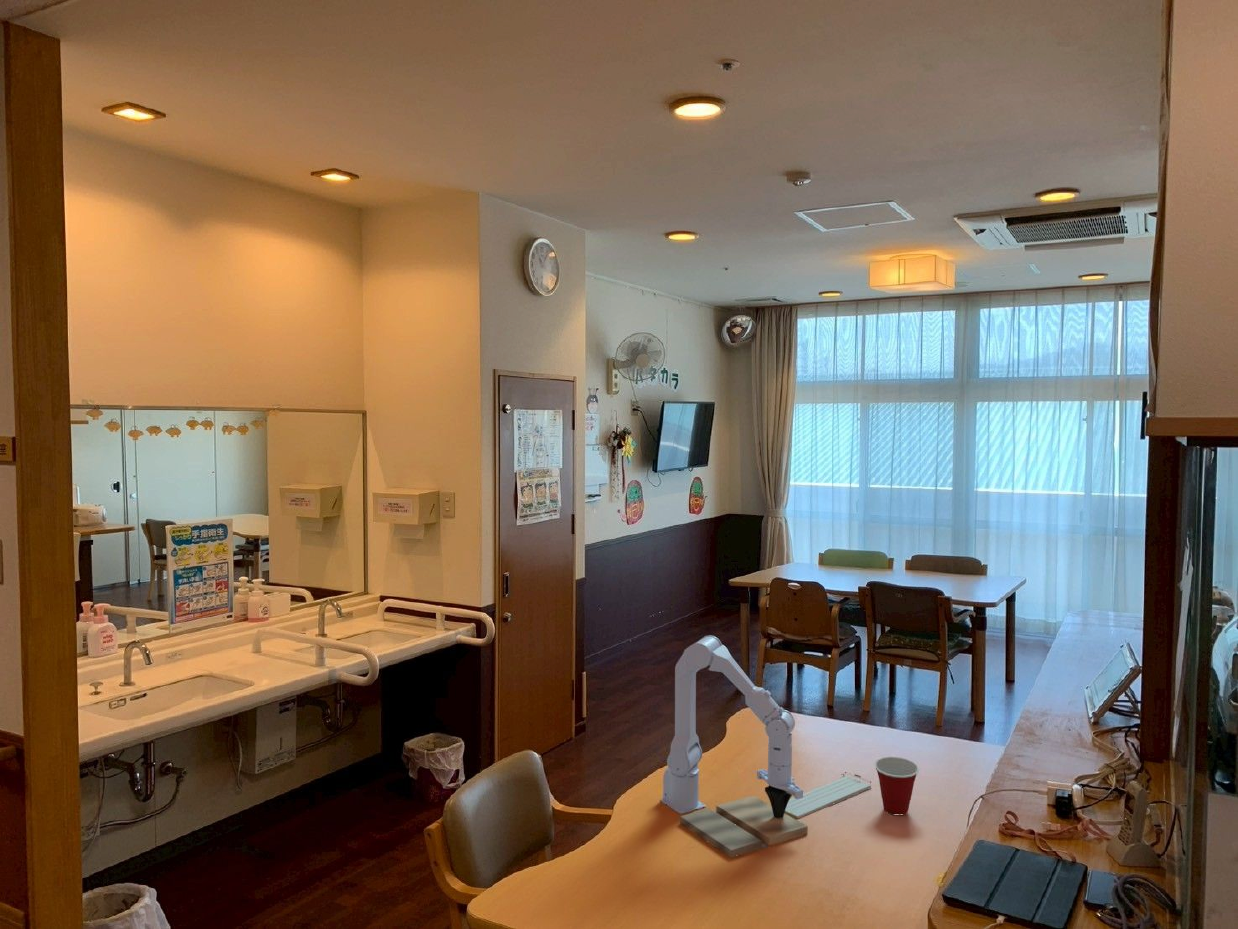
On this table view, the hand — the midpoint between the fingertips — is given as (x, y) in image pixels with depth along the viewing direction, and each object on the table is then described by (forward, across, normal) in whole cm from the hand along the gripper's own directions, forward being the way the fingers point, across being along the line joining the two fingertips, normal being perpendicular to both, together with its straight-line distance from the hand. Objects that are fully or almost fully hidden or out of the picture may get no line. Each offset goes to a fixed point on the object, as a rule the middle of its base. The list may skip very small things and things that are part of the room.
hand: (778, 816), depth 220 cm
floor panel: (+2, +3, +16) cm, 16 cm away
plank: (+2, +3, +4) cm, 5 cm away
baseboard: (+3, +7, -20) cm, 21 cm away
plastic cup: (+2, -10, -30) cm, 32 cm away
